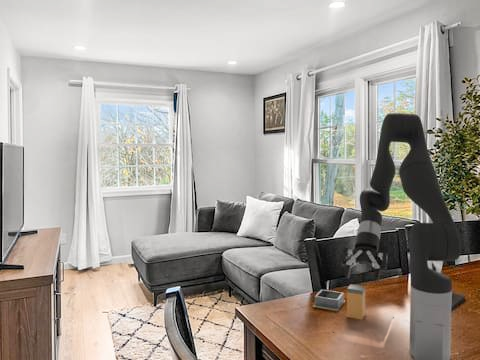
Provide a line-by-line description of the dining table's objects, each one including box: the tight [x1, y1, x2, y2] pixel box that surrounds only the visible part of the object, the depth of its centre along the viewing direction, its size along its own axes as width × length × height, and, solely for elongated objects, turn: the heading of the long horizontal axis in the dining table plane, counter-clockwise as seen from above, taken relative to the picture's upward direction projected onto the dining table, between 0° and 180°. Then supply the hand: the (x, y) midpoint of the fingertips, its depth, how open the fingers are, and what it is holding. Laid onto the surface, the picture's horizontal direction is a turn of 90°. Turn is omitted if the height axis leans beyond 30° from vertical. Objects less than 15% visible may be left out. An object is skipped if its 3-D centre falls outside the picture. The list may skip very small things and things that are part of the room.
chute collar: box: [314, 289, 345, 310], centre depth 132 cm, size 8×8×3 cm
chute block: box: [346, 283, 366, 320], centre depth 122 cm, size 4×4×10 cm
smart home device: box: [451, 292, 466, 311], centre depth 134 cm, size 8×2×20 cm
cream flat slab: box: [312, 299, 346, 312], centre depth 132 cm, size 10×8×1 cm
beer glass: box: [428, 261, 444, 273], centre depth 151 cm, size 7×7×15 cm
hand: (360, 279), depth 127 cm, fingers open, 8 cm apart
